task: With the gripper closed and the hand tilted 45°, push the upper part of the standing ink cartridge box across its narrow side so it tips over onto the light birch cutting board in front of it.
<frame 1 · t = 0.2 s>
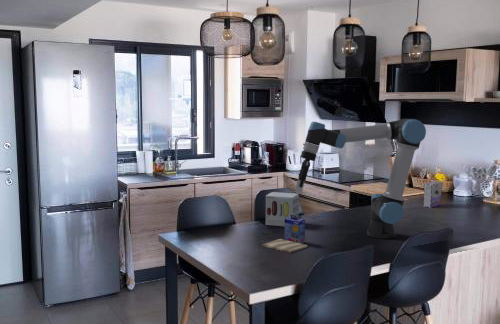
hand: (297, 191, 261), 27 cm above the table, tool tilted 15°, fingers open, 13 cm apart
ink cartridge box: (294, 242, 268), on the table
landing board: (284, 246, 259), on the table
candy box: (432, 206, 356), on the table
supplement box: (282, 224, 307), on the table
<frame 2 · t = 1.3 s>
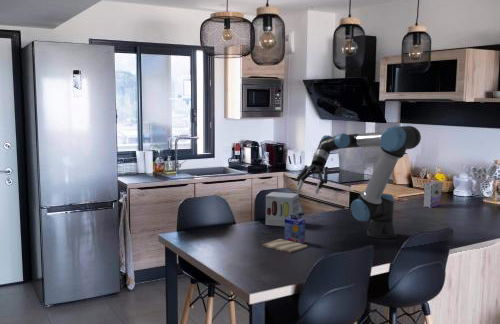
hand: (307, 191, 273), 25 cm above the table, tool tilted 45°, fingers open, 10 cm apart
nothing on the table moved.
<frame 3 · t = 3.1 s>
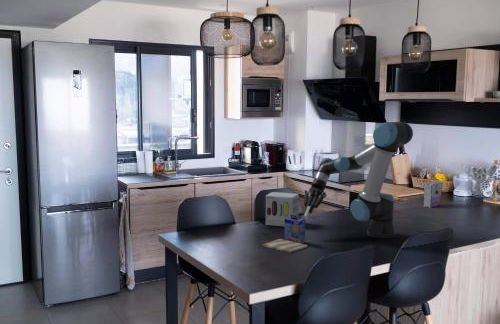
hand: (305, 217, 274), 11 cm above the table, tool tilted 45°, fingers closed
nothing on the table moved.
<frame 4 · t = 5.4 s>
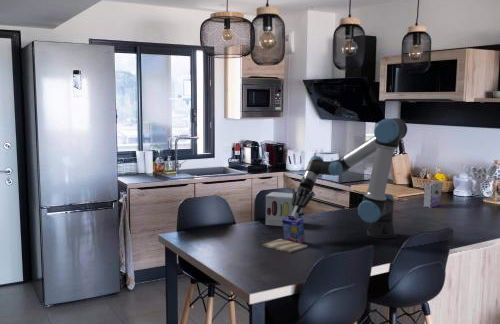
hand: (293, 217, 268), 12 cm above the table, tool tilted 45°, fingers closed
ink cartridge box: (294, 241, 268), on the table, touching gripper
everything else where it was.
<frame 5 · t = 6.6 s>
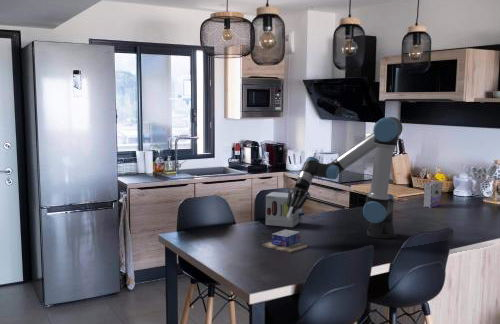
hand: (288, 218, 263), 13 cm above the table, tool tilted 45°, fingers closed
ink cartridge box: (293, 235, 266), point 4 cm above the table, touching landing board
everything else where it was.
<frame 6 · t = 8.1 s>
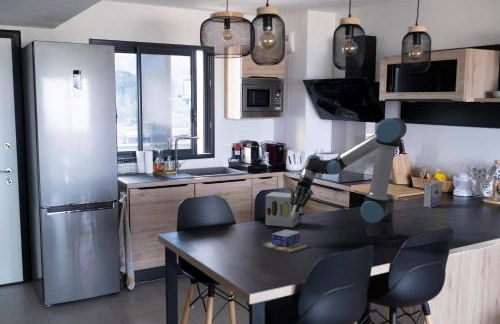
hand: (292, 216, 265), 14 cm above the table, tool tilted 45°, fingers closed
nothing on the table moved.
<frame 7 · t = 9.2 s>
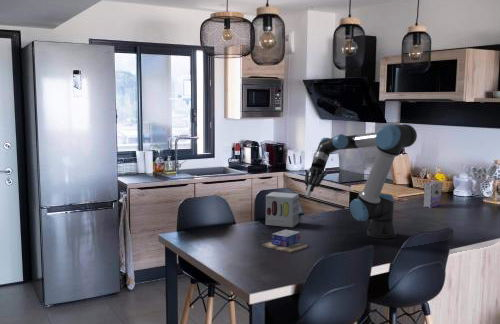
hand: (307, 195, 274), 23 cm above the table, tool tilted 45°, fingers closed
nothing on the table moved.
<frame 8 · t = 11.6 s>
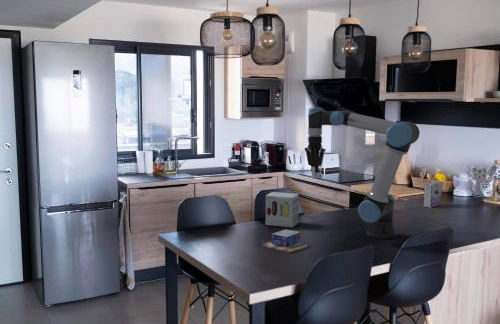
hand: (314, 178, 285), 30 cm above the table, tool pointing down, fingers closed
nothing on the table moved.
at the end: ink cartridge box tilted 88°; ink cartridge box inside the target area (4.0 cm from its centre), point 3.5 cm above the table; ink cartridge box touching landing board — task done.
